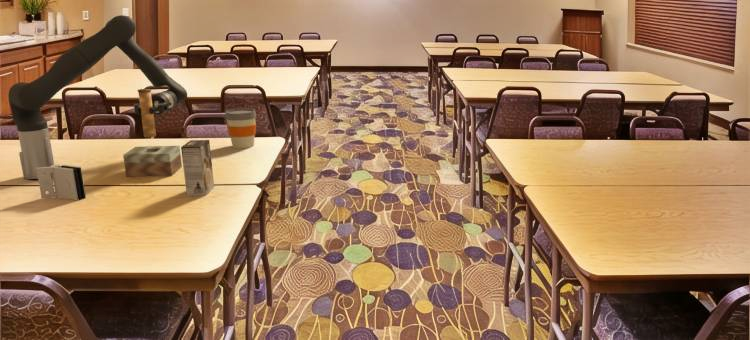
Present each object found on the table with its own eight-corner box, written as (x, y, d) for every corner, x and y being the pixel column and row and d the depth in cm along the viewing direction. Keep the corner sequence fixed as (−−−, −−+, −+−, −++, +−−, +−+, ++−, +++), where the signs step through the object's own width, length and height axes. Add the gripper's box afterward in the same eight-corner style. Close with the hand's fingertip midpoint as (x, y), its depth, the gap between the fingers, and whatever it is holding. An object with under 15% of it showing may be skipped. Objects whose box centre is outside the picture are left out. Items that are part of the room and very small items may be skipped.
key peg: (141, 137, 204) (135, 90, 200) (146, 135, 208) (140, 88, 204) (154, 137, 204) (148, 90, 200) (158, 134, 209) (152, 88, 204)
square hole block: (126, 176, 204) (123, 154, 202) (138, 167, 216) (135, 146, 213) (171, 175, 205) (169, 153, 202) (181, 166, 216) (179, 145, 214)
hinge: (40, 199, 182) (35, 168, 179) (52, 193, 187) (47, 163, 184) (80, 200, 180) (75, 169, 177) (91, 195, 185) (86, 164, 182)
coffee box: (195, 187, 191) (190, 139, 187) (214, 187, 191) (210, 139, 187) (186, 196, 182) (180, 146, 178) (206, 195, 182) (201, 146, 178)
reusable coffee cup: (262, 142, 252) (259, 108, 247) (253, 149, 240) (250, 113, 235) (233, 142, 253) (231, 108, 249) (223, 149, 241) (220, 113, 237)
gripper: (139, 93, 216) (121, 100, 200) (178, 92, 217) (163, 100, 200) (142, 113, 218) (124, 122, 202) (180, 112, 219) (165, 121, 202)
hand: (144, 111), depth 201 cm, fingers closed on key peg, 4 cm apart
